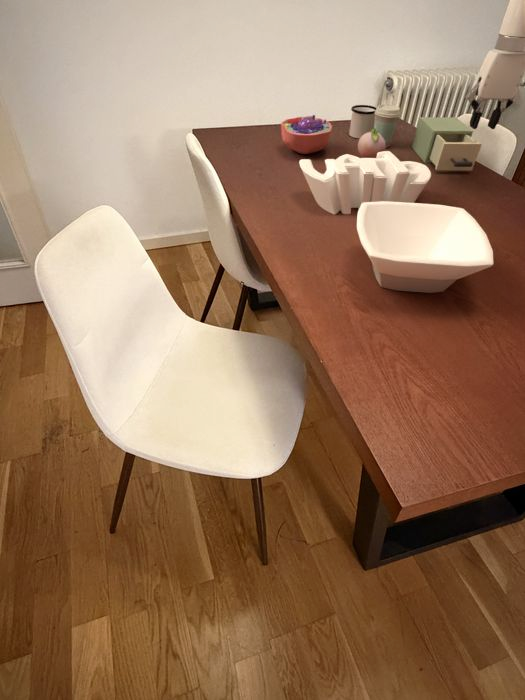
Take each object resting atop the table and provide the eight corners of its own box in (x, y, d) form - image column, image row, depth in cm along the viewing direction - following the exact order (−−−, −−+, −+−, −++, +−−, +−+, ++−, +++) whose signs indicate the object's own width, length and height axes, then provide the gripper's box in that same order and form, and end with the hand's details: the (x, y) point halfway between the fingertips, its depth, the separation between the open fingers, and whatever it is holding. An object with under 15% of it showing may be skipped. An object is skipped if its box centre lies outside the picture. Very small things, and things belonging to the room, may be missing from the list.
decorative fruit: (352, 157, 135) (358, 124, 128) (376, 156, 135) (383, 124, 128) (358, 167, 128) (364, 133, 121) (383, 167, 128) (391, 133, 121)
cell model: (329, 142, 144) (333, 107, 136) (328, 163, 130) (332, 124, 122) (282, 140, 146) (284, 104, 138) (276, 160, 132) (277, 121, 124)
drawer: (478, 176, 122) (488, 149, 116) (441, 176, 121) (450, 149, 116) (456, 155, 135) (464, 129, 129) (422, 154, 134) (429, 129, 129)
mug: (371, 140, 147) (377, 113, 140) (346, 138, 148) (350, 110, 142) (373, 130, 155) (378, 104, 148) (349, 128, 156) (353, 102, 150)
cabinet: (462, 162, 132) (473, 131, 125) (424, 162, 132) (433, 130, 125) (446, 147, 142) (456, 117, 136) (411, 147, 142) (419, 117, 135)
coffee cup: (378, 139, 147) (386, 102, 139) (397, 146, 143) (406, 108, 134) (363, 144, 143) (370, 106, 135) (382, 151, 139) (390, 112, 130)
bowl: (346, 240, 95) (353, 198, 88) (454, 247, 94) (471, 205, 87) (350, 303, 78) (360, 257, 71) (483, 313, 77) (506, 267, 69)
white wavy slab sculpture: (300, 214, 105) (304, 173, 97) (295, 188, 116) (298, 149, 109) (433, 215, 105) (446, 174, 98) (415, 188, 117) (426, 150, 110)
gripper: (538, 42, 100) (505, 123, 113) (471, 41, 99) (446, 123, 112) (554, 47, 94) (518, 132, 107) (484, 46, 94) (456, 131, 107)
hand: (482, 126), depth 110 cm, fingers open, 4 cm apart
